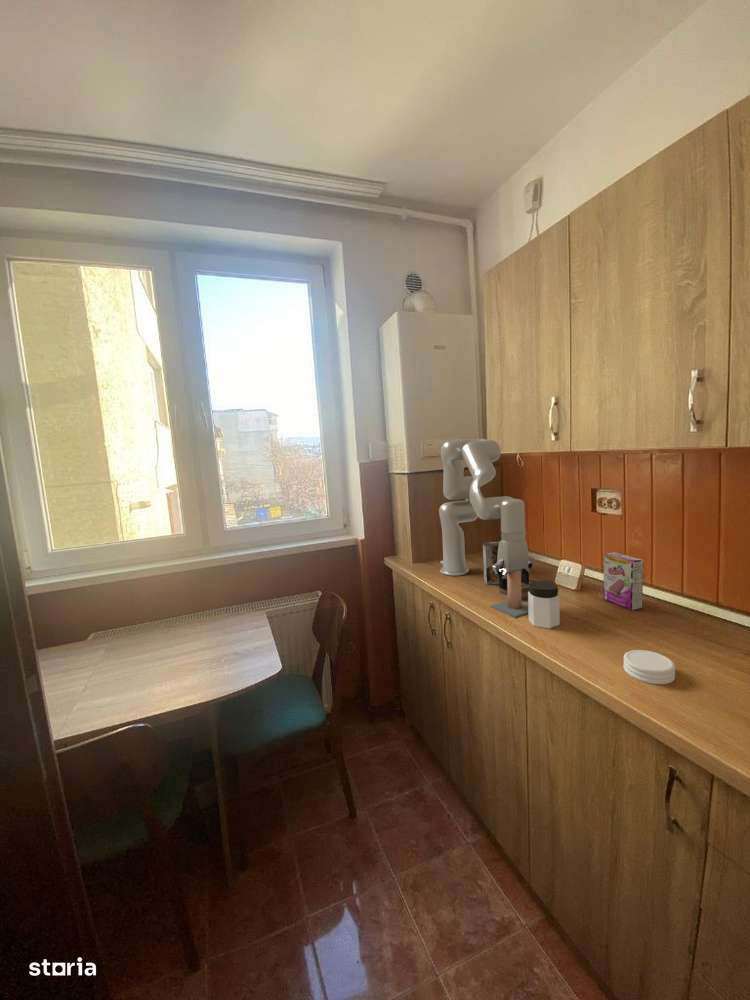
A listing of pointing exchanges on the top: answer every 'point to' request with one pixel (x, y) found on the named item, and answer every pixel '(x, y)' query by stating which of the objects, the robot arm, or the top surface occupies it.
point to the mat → (512, 612)
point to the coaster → (649, 667)
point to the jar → (543, 604)
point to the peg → (514, 589)
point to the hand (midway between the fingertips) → (514, 586)
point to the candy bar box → (623, 580)
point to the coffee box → (490, 562)
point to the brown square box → (523, 591)
